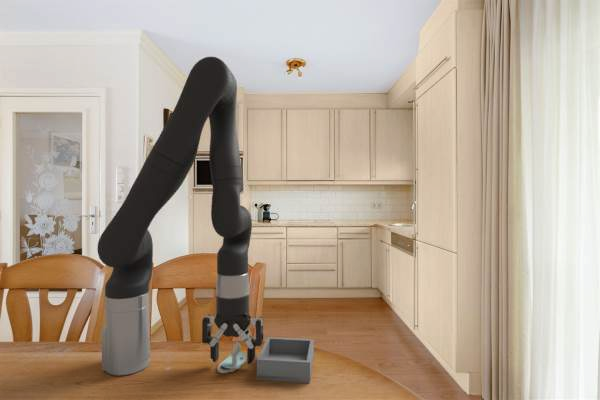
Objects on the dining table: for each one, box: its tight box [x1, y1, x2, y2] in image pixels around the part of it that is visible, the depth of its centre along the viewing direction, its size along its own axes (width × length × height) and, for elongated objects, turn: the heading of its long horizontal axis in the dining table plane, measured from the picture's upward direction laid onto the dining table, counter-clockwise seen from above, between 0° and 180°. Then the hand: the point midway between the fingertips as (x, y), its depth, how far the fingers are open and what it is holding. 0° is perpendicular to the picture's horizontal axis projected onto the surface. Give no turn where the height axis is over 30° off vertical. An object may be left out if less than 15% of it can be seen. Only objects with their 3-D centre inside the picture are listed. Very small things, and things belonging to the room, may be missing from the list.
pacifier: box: [216, 341, 247, 374], centre depth 83 cm, size 7×6×6 cm
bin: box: [256, 336, 315, 384], centre depth 83 cm, size 12×12×4 cm
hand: (232, 361), depth 83 cm, fingers open, 7 cm apart
